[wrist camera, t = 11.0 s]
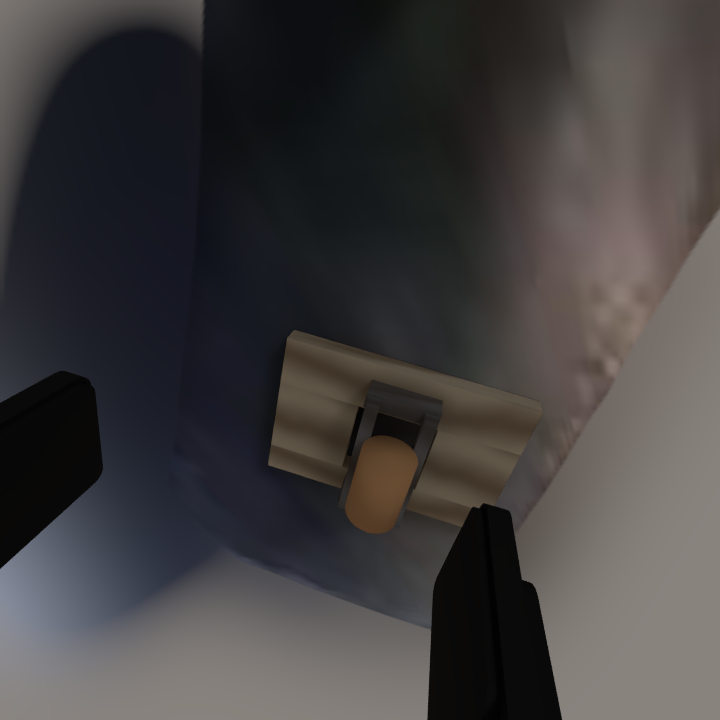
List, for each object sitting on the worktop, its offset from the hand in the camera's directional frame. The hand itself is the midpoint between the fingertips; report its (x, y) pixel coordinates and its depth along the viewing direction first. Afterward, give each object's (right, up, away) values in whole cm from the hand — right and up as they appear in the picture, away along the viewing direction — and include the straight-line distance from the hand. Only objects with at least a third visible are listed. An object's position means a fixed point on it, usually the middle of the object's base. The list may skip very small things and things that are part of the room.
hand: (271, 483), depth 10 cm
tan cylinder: (+4, -7, +29) cm, 31 cm away
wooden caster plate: (+5, -4, +33) cm, 34 cm away
